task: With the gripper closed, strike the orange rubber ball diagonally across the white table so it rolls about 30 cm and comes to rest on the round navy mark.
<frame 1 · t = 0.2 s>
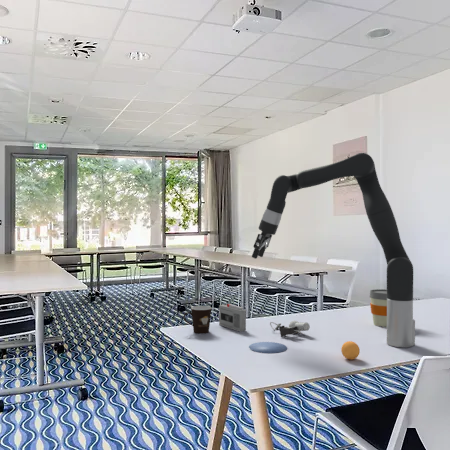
hand: (257, 257, 193), 31 cm above the table, tool tilted 20°, fingers open, 8 cm apart
reusable coffee cup: (384, 325, 205), on the table
coffee mug: (197, 332, 192), on the table
ball: (350, 350, 155), on the table
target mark: (267, 347, 168), on the table
cassette player: (232, 328, 199), on the table
clip-on lamp: (287, 334, 189), on the table
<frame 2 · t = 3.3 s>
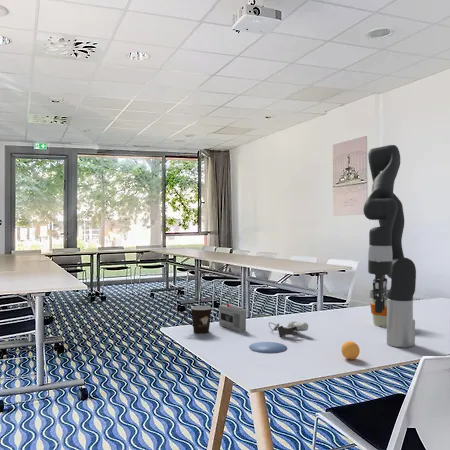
hand: (379, 310, 150), 17 cm above the table, tool pointing down, fingers open, 4 cm apart
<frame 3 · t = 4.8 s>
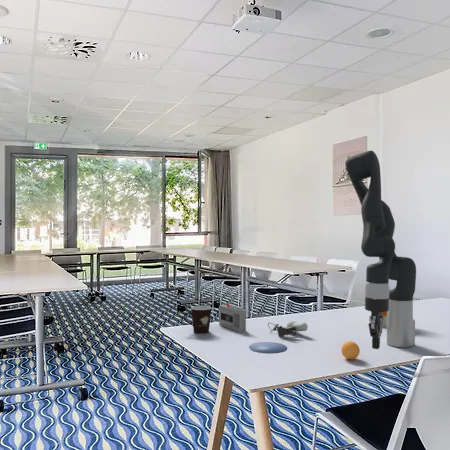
hand: (375, 348, 151), 5 cm above the table, tool pointing down, fingers closed
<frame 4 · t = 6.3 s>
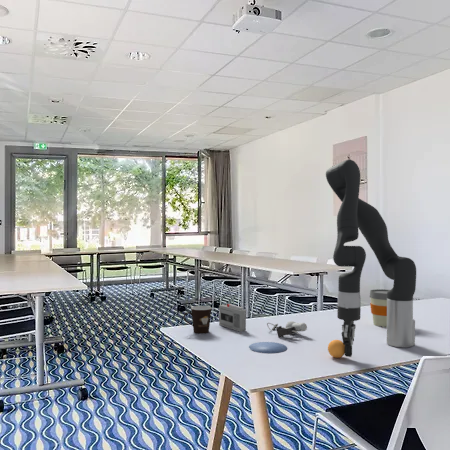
hand: (348, 356, 154), 1 cm above the table, tool pointing down, fingers closed
ball: (336, 348, 157), on the table
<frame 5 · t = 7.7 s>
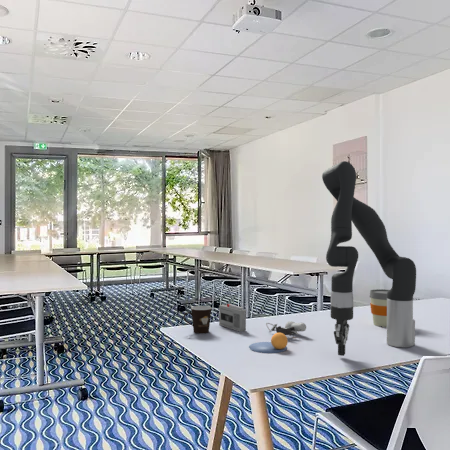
hand: (341, 354, 156), 1 cm above the table, tool pointing down, fingers closed
ball: (279, 341, 166), on the table
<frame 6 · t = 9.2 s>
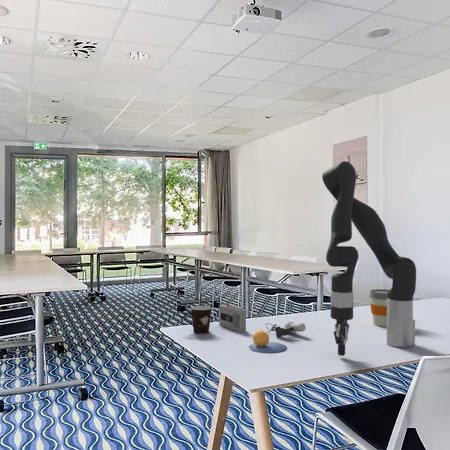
hand: (341, 354, 156), 1 cm above the table, tool pointing down, fingers closed
ball: (261, 338, 170), on the table
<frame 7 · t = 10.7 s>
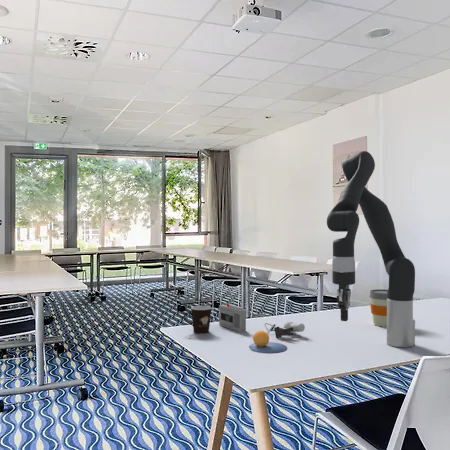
hand: (344, 320, 155), 13 cm above the table, tool pointing down, fingers closed
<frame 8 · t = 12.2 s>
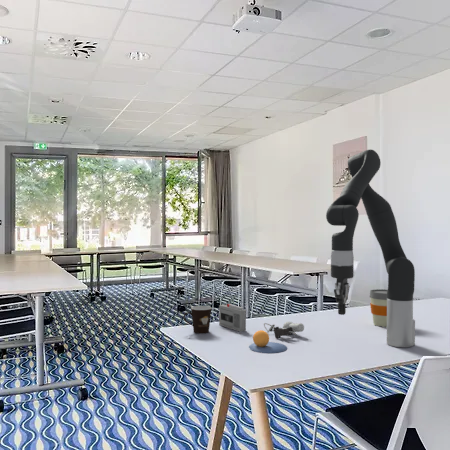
hand: (341, 314, 156), 15 cm above the table, tool pointing down, fingers closed
at the end: ball 2.7 cm from the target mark (horizontally); ball at rest at the end (0.0 cm/s); ball moved 32.7 cm from its start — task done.
